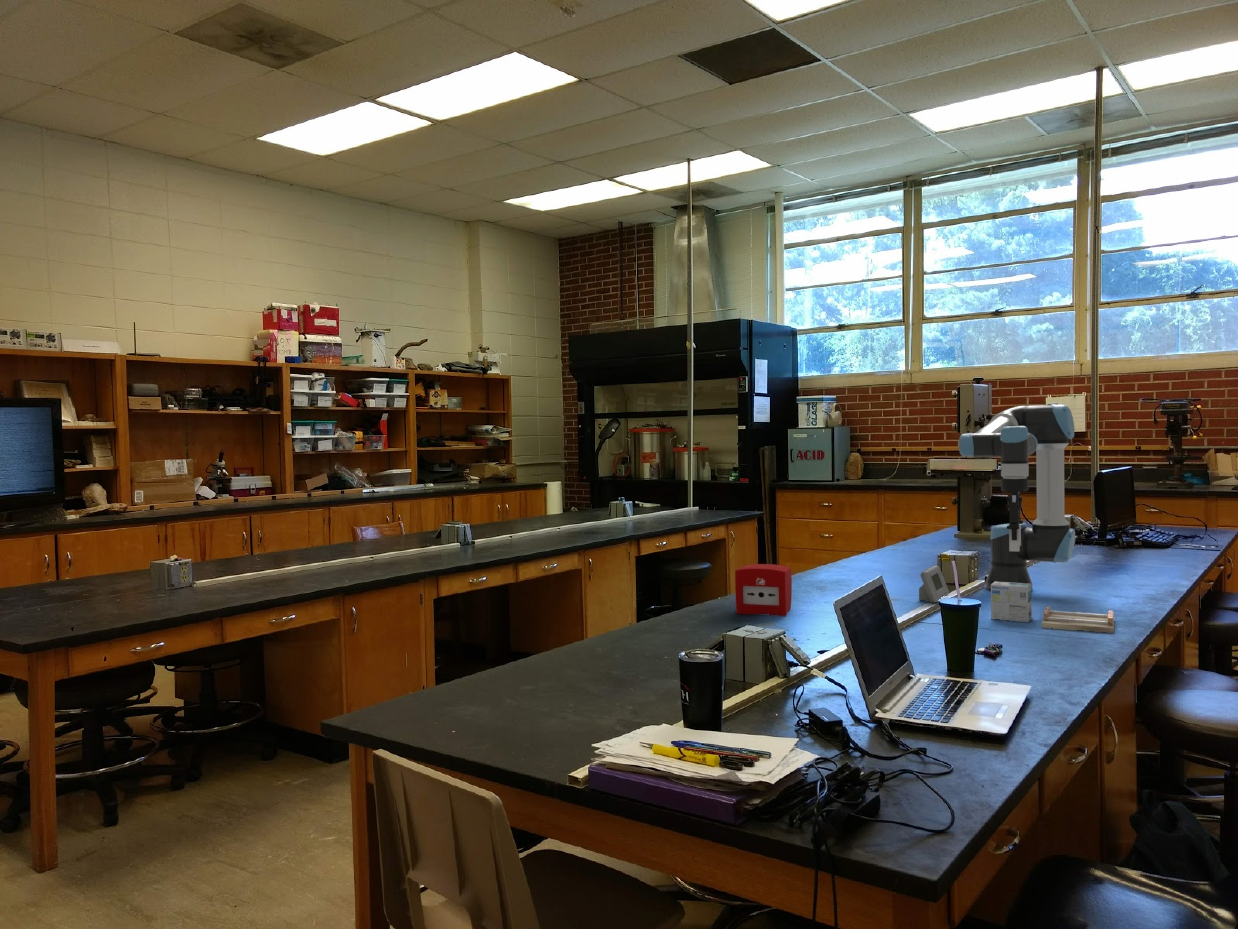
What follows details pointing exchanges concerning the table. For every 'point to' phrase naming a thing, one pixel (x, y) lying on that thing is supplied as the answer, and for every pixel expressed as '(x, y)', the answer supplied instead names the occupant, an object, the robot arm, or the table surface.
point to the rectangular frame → (1048, 612)
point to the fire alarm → (763, 589)
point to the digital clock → (932, 585)
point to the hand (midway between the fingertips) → (1015, 548)
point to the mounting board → (1078, 624)
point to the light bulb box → (1011, 601)
